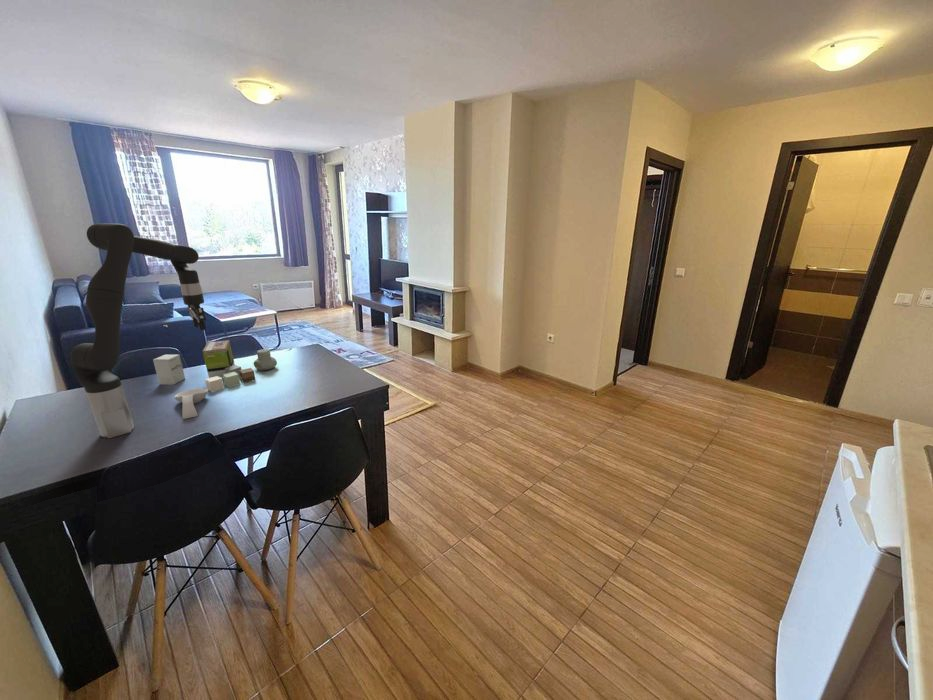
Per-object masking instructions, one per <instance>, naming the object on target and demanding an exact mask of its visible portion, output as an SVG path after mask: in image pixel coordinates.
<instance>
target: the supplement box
mask: <svg viewBox="0 0 933 700" xmlns="http://www.w3.org/2000/svg"><path fill="white" fill-rule="evenodd" d="M152 361H153V365H154V368H155V373H156V376H157V380H158V384H159V385H169V386H171V385H176V384H178V383H179V382H181V381H183V380H185V379H186V377H185V373H184V368H183V364H182V360H181V356H180V354H163V355H161V356H158V357H156V358H153V359H152Z"/></svg>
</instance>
